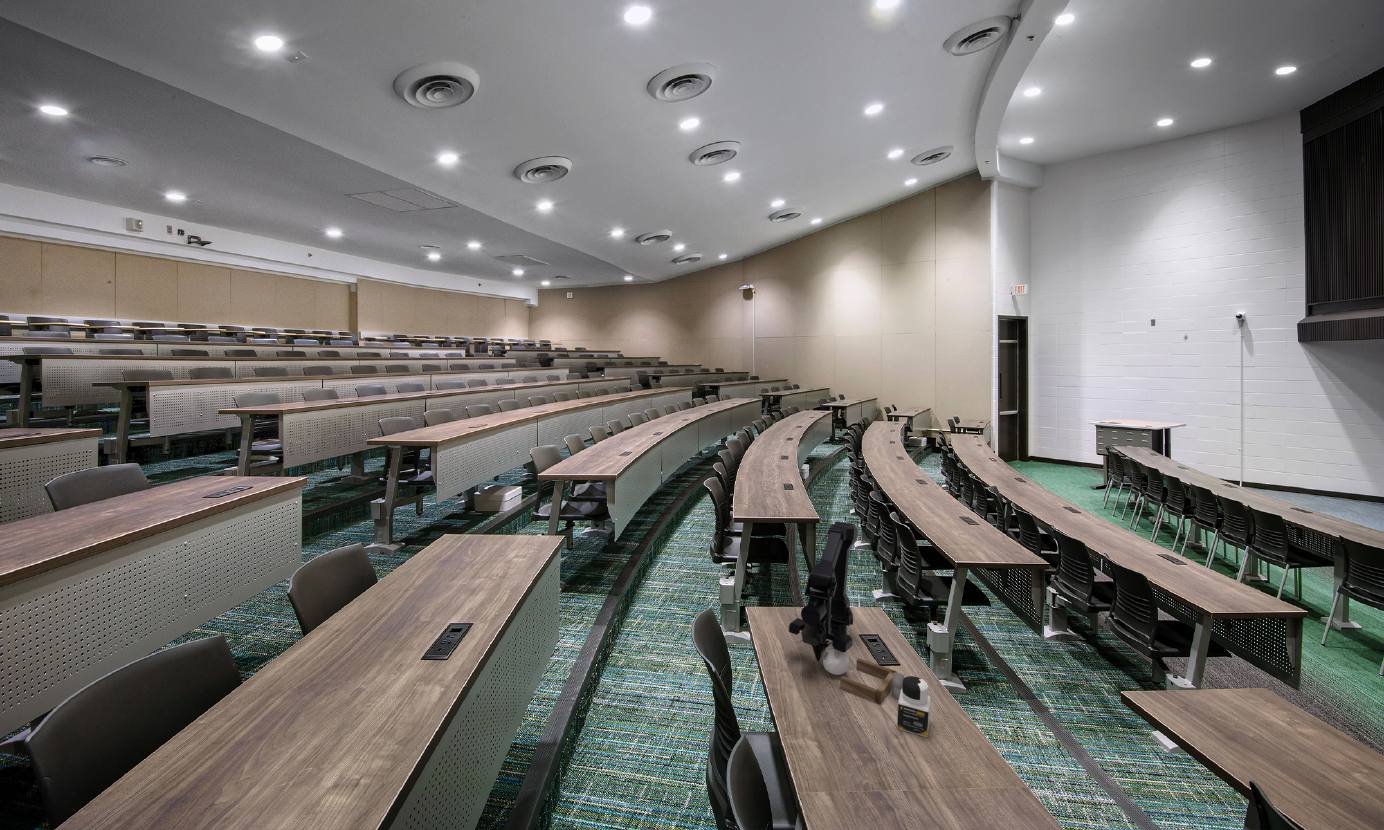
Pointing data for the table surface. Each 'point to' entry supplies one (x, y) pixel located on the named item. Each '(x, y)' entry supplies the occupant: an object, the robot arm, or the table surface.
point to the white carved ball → (836, 661)
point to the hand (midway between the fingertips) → (818, 660)
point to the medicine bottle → (914, 706)
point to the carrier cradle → (869, 693)
